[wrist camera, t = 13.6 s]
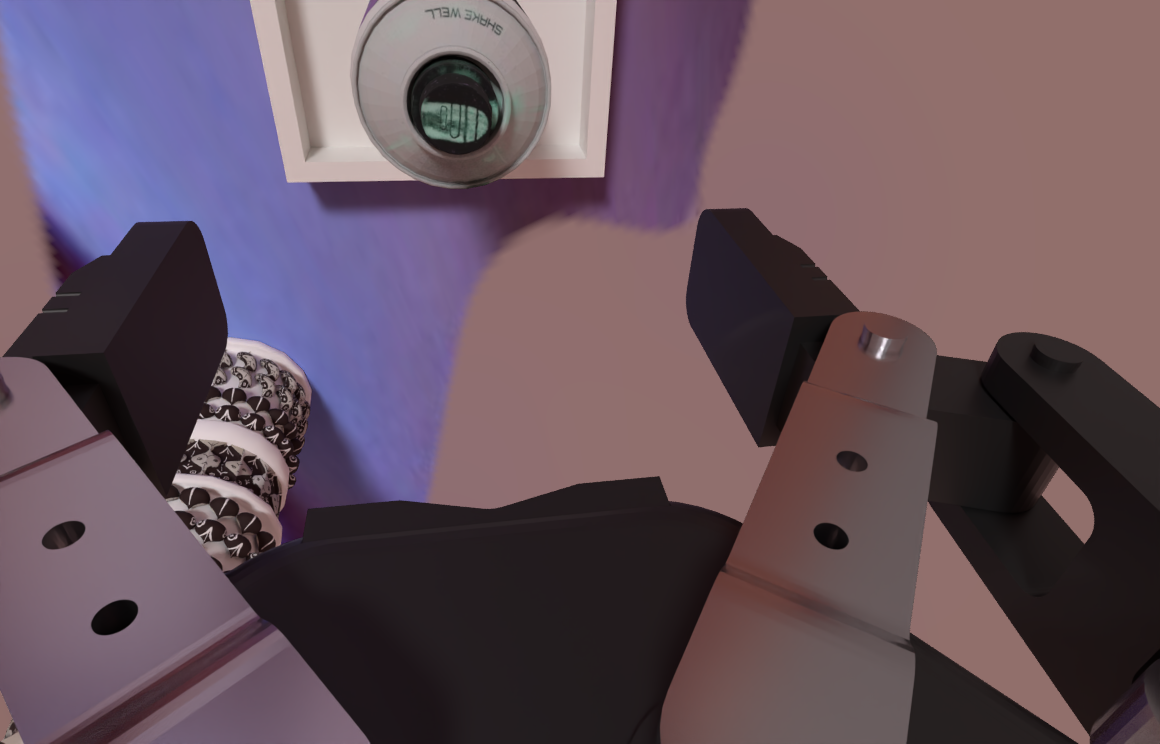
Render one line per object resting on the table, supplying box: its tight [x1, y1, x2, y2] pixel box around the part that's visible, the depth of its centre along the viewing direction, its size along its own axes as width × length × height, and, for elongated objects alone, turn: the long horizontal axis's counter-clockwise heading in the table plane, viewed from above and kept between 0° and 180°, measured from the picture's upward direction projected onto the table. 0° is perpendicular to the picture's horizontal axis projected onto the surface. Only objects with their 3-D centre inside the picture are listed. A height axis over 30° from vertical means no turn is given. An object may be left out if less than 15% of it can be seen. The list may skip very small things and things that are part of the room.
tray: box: [250, 0, 617, 182], centre depth 32 cm, size 16×16×3 cm
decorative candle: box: [0, 337, 312, 744], centre depth 35 cm, size 9×9×25 cm
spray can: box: [350, 0, 551, 189], centre depth 25 cm, size 6×6×20 cm
